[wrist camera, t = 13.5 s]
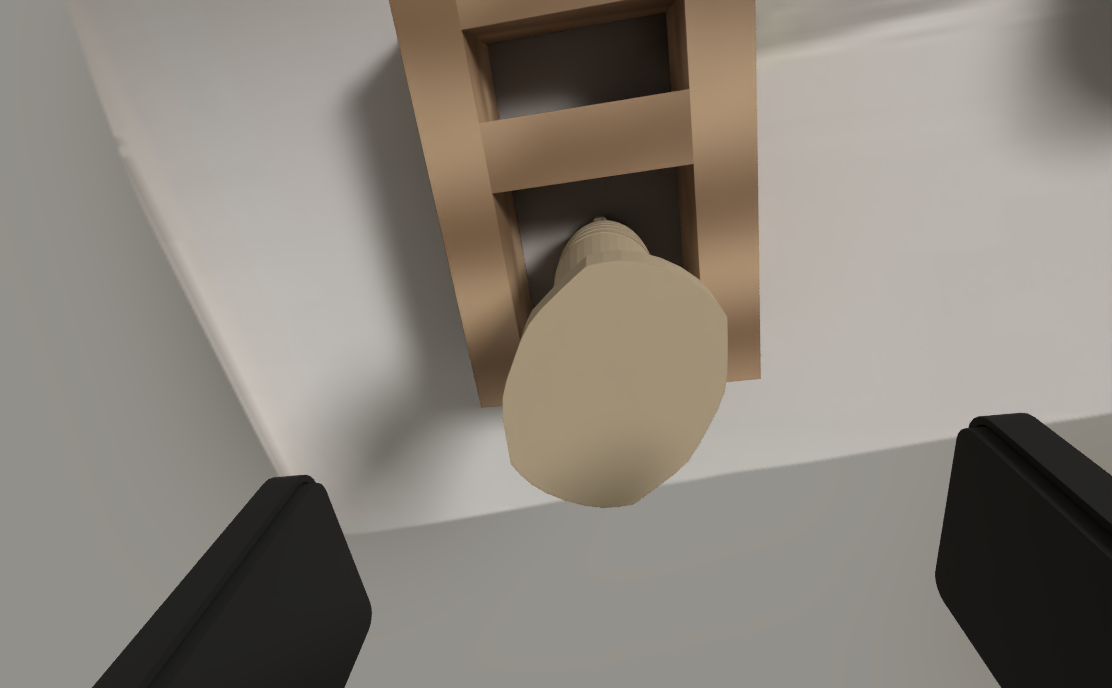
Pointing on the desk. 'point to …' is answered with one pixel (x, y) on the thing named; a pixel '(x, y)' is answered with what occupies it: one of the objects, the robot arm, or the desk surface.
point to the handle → (614, 372)
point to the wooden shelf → (585, 154)
